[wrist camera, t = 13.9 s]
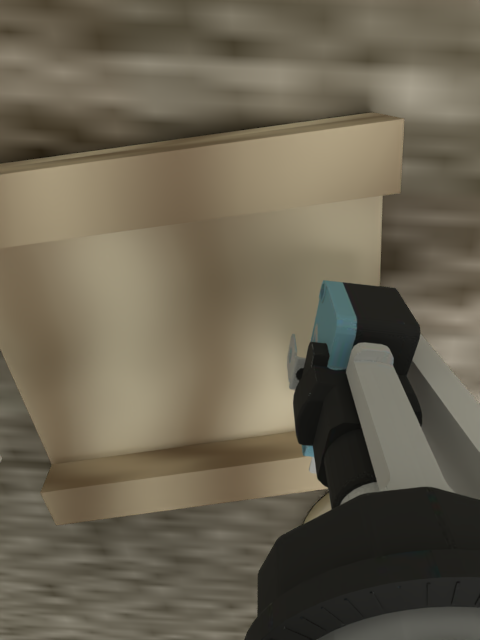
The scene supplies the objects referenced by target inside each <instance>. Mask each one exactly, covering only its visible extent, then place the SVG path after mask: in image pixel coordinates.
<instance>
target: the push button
mask: <svg viewBox="0 0 480 640" xmlns="http://www.w3.org/2000/svg"><path fill="white" fill-rule="evenodd" d="M419 339H420V327H419V324H418V323H417V321H416V319H415V318H414V316H413V315H412V313H411V311H410V310H409V308H408V307H407V305H406V304H405V302H404V300H403V299H402V297H401V296H400V294H399V292H398V291H397V289H396V288H390V287H381V286H372V285H363V284H354V283H345V282H336V281H327V280H323V282H322V285H321V289H320V294H319V304H318V309H317V313H316V318H315V323H314V328H313V332H312V337H311V342H310V343H309V346H308V350H307V355H306V358H301V357H298V356H297V346H296V339H295V334H292V335H291V340H290V345H289V351H288V356H287V369H288V380H289V382H290V384H289V388H290V389H292V390H295V392H294V397H293V410H294V420H295V431H296V437H297V441H298V443H299V444H301V445H302V453H303V456H310V457H312V459H311V463H310V467H309V472H311V473H315V474H317V479H318V480H319V481H320V482H321V483H322V484H323V485H324V486H325V487H328V491H329V497H330V503H331V510H330V511H328V512H326V513H324V514H322V515H320V516H318V517H316V518H314V519H312V520H310V521H309V522H307V523H305V524H303V525H301V526H299V527H297V528H295V529H293V530H291V531H289V532H287V533H286V534H284V535H282V536H280V537H279V538H278V539H277V541H276V542H275V544H274V546H273V547H272V549H271V551H270V553H269V554H268V556H267V558H266V560H265V561H264V563H263V565H262V566H261V568H260V570H259V573H258V617H257V618H256V619H255V621H254V622H253V623H252V625H251V627H250V628H249V630H248V632H247V634H246V637H245V639H244V640H480V500H479V499H475V498H471V497H468V496H464V495H460V494H457V493H455V492H454V491H453V490H452V489H451V488H450V487H449V486H448V484H447V482H446V481H445V479H444V477H443V475H442V473H441V470H440V468H439V466H438V464H437V462H436V459H435V457H434V455H433V453H432V451H431V448H430V446H429V444H428V442H427V440H426V437H425V435H424V433H423V431H422V428H421V427H422V409H421V406H420V404H419V401H418V399H417V396H416V394H415V392H414V390H413V388H412V386H411V384H410V382H409V380H408V378H407V374H408V371H409V368H410V365H411V362H412V360H413V357H414V354H415V351H416V348H417V345H418V342H419Z"/></svg>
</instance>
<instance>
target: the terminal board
mask: <svg viewBox="0 0 480 640" xmlns="http://www.w3.org/2000/svg"><path fill="white" fill-rule="evenodd" d="M403 134H404V119H403V118H398V117H393V116H388V115H383V114H378V113H373V112H370V113H363V114H356V115H349V116H342V117H334V118H327V119H320V120H313V121H305V122H298V123H291V124H284V125H277V126H269V127H262V128H255V129H248V130H240V131H233V132H226V133H219V134H212V135H204V136H197V137H190V138H183V139H175V140H168V141H161V142H154V143H147V144H139V145H132V146H125V147H118V148H110V149H103V150H96V151H89V152H82V153H74V154H67V155H60V156H53V157H45V158H38V159H31V160H24V161H17V162H9V163H2V164H0V350H1V352H2V354H3V357H4V359H5V361H6V363H7V366H8V368H9V370H10V372H11V375H12V377H13V379H14V381H15V383H16V386H17V388H18V390H19V392H20V395H21V397H22V399H23V401H24V404H25V406H26V408H27V410H28V412H29V415H30V417H31V419H32V421H33V424H34V426H35V428H36V430H37V433H38V435H39V437H40V439H41V441H42V444H43V446H44V448H45V450H46V453H47V455H48V457H49V459H50V462H51V464H52V465H51V468H50V470H49V473H48V475H47V478H46V480H45V482H44V485H43V487H42V490H41V492H40V493H41V495H42V497H43V500H44V502H45V504H46V506H47V508H48V510H49V512H50V514H51V516H52V518H53V520H54V522H55V524H56V525H63V524H71V523H78V522H86V521H93V520H100V519H108V518H115V517H123V516H130V515H137V514H145V513H152V512H159V511H167V510H174V509H182V508H189V507H196V506H204V505H211V504H219V503H226V502H233V501H241V500H248V499H255V498H263V497H270V496H278V495H285V494H292V493H300V492H307V491H315V490H322V489H328V487H325V486H324V485H323V484H322V483H321V482H320V481H319V480H318V479H317V474H315V473H311V472H309V467H310V463H311V459H312V457H310V456H303V453H302V445H301V444H299V443H298V441H297V437H296V431H295V420H294V410H293V397H294V392H295V390H292V389H290V388H289V384H290V382H289V380H288V369H287V356H288V351H289V345H290V340H291V335H292V334H295V339H296V346H297V356H298V357H301V358H306V355H307V350H308V346H309V343H310V342H311V337H312V332H313V328H314V323H315V318H316V313H317V309H318V304H319V294H320V289H321V285H322V282H323V280H327V281H336V282H345V283H354V284H363V285H372V286H380V263H381V230H382V198H383V196H384V195H391V194H398V193H401V174H402V154H403Z"/></svg>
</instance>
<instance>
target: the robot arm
mask: <svg viewBox="0 0 480 640" xmlns="http://www.w3.org/2000/svg"><path fill="white" fill-rule="evenodd" d="M407 378H408V380H409V382H410V384H411V386H412V388H413V390H414V392H415V394H416V396H417V399H418V401H419V404H420V406H421V409H422V427H421V428H422V431H423V433H424V435H425V437H426V440H427V442H428V444H429V446H430V448H431V451H432V453H433V455H434V457H435V459H436V462H437V464H438V466H439V468H440V470H441V473H442V475H443V477H444V479H445V481H446V482H447V484H448V486H449V487H450V488H451V489H452V490H453V491H454V492H455V493H457V494H460V495H464V496H468V497H471V498H475V499H479V500H480V404H479V403H478V401H477V400H476V399H475V398H474V397H473V395H472V394H471V393H470V392H469V391H468V390H467V388H466V387H465V386H464V385H463V384H462V382H461V381H460V380H459V379H458V378H457V376H456V375H455V374H454V373H453V372H452V370H451V369H450V368H449V367H448V366H447V364H446V363H445V362H444V361H443V360H442V359H441V357H440V356H439V355H438V354H437V353H436V351H435V350H434V349H433V348H432V347H431V345H430V344H429V343H428V342H427V341H426V339H425V338H424V337H423V336H422V335H421V334H420V339H419V342H418V345H417V348H416V351H415V354H414V357H413V360H412V362H411V365H410V368H409V371H408V374H407ZM1 460H2V457H1V456H0V462H1Z"/></svg>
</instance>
